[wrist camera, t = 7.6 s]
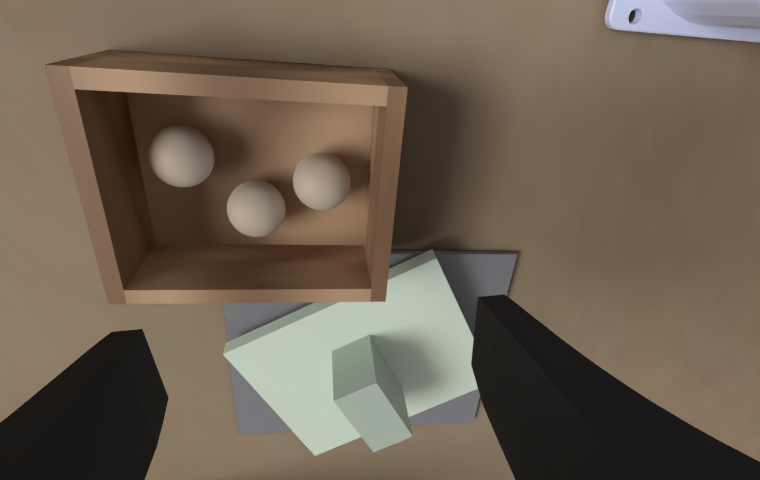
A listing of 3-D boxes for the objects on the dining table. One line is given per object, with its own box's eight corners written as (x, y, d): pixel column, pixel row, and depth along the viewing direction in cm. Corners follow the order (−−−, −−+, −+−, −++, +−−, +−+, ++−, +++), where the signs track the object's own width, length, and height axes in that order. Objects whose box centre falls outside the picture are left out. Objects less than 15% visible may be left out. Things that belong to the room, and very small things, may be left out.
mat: (515, 251, 21) (517, 254, 21) (471, 418, 27) (473, 422, 27) (219, 249, 19) (217, 252, 19) (239, 429, 25) (238, 434, 25)
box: (389, 69, 17) (407, 87, 13) (374, 250, 20) (385, 301, 17) (107, 50, 15) (44, 64, 12) (147, 248, 19) (108, 304, 16)
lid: (429, 242, 20) (455, 299, 16) (485, 363, 24) (516, 430, 21) (228, 334, 21) (208, 407, 18) (315, 433, 26) (314, 510, 22)
